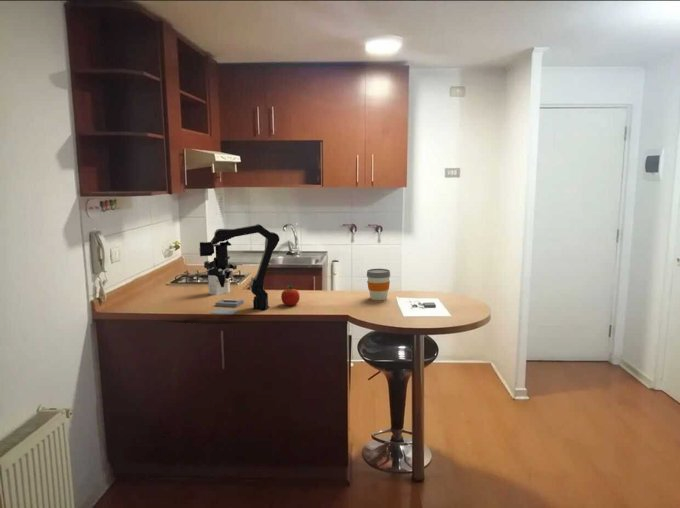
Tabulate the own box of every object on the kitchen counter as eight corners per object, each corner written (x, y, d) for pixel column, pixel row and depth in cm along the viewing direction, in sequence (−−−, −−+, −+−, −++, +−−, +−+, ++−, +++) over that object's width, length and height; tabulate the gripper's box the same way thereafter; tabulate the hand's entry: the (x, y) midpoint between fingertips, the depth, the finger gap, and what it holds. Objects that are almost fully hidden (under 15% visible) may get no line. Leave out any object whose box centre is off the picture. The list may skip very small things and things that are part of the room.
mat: (239, 310, 250) (239, 309, 250) (232, 315, 242) (232, 314, 242) (217, 309, 253) (217, 308, 253) (209, 313, 246) (209, 312, 245)
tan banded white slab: (230, 291, 247) (229, 278, 246) (228, 292, 245) (227, 279, 244) (219, 291, 248) (218, 278, 247) (216, 292, 246) (216, 279, 245)
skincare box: (219, 291, 293) (217, 265, 291) (227, 292, 290) (226, 265, 287) (208, 294, 286) (207, 267, 284) (217, 295, 283) (215, 268, 280)
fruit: (283, 307, 254) (282, 288, 253) (280, 303, 263) (279, 284, 262) (301, 306, 257) (301, 287, 255) (298, 301, 266) (297, 283, 264)
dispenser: (243, 303, 264) (243, 299, 263) (236, 307, 256) (236, 303, 255) (223, 302, 267) (222, 298, 266) (215, 306, 259) (215, 301, 259)
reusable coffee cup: (363, 299, 268) (362, 272, 265) (372, 294, 279) (372, 267, 276) (384, 302, 262) (384, 273, 260) (393, 296, 273) (393, 269, 271)
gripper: (216, 251, 255) (218, 281, 257) (196, 257, 237) (198, 290, 239) (236, 252, 252) (238, 282, 254) (217, 258, 234) (219, 291, 236)
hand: (223, 286), depth 246 cm, fingers closed on tan banded white slab, 2 cm apart
